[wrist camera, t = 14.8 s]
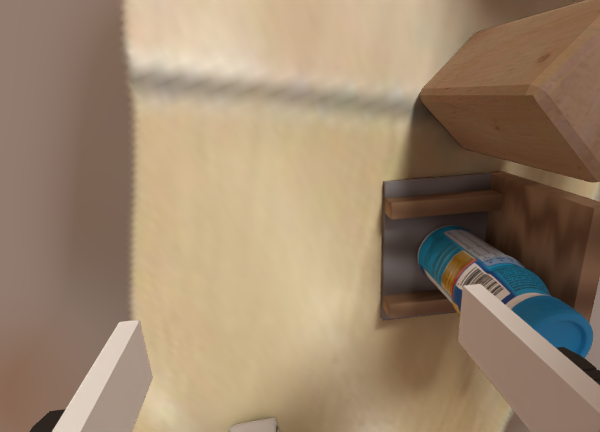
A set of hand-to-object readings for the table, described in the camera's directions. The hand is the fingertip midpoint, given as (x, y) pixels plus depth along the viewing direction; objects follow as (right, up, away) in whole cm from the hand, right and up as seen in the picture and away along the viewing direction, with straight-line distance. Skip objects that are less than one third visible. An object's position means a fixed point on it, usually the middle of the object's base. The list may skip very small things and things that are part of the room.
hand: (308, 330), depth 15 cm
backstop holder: (+18, 0, +35) cm, 40 cm away
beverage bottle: (+19, 0, +35) cm, 40 cm away
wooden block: (+20, +19, +30) cm, 41 cm away
